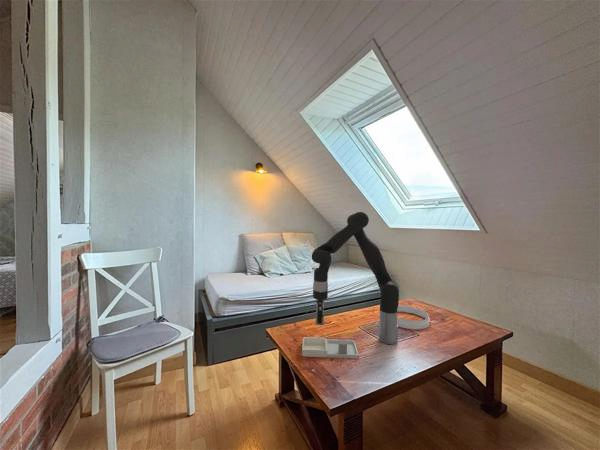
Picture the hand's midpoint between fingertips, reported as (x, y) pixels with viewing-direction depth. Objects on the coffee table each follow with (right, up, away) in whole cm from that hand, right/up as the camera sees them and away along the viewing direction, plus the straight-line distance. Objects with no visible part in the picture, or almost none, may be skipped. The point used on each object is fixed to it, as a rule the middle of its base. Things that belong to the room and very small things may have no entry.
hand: (319, 321), depth 129 cm
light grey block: (+11, -15, -2) cm, 19 cm away
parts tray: (+12, -16, +1) cm, 20 cm away
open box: (-3, -16, +1) cm, 16 cm away
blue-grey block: (0, -1, 0) cm, 1 cm away
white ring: (+62, -14, +39) cm, 74 cm away
